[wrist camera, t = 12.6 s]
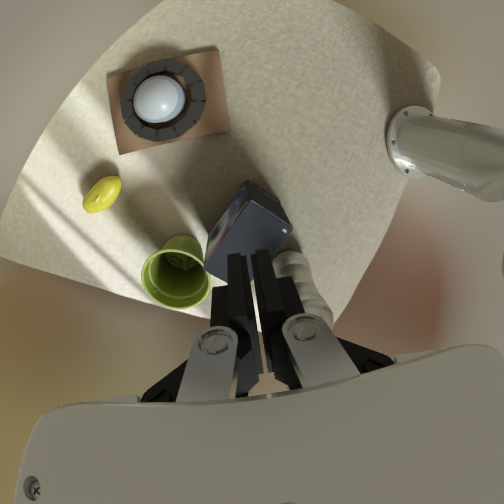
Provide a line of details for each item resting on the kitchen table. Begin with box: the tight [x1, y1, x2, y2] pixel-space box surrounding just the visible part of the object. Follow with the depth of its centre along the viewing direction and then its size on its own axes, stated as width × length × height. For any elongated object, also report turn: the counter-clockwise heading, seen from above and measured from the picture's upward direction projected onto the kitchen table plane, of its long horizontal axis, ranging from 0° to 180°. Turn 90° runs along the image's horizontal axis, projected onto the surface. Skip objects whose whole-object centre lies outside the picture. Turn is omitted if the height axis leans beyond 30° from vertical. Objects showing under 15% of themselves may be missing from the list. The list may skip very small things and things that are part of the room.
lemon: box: [82, 176, 122, 213], centre depth 35 cm, size 4×8×4 cm, turn 116°
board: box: [107, 50, 230, 155], centre depth 32 cm, size 16×12×1 cm
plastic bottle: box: [272, 251, 334, 330], centre depth 36 cm, size 6×7×20 cm
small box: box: [203, 180, 293, 283], centre depth 36 cm, size 11×6×10 cm, turn 145°
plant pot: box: [141, 235, 211, 309], centre depth 39 cm, size 9×9×9 cm
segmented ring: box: [120, 59, 207, 142], centre depth 30 cm, size 11×11×2 cm
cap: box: [134, 76, 187, 123], centre depth 29 cm, size 6×6×5 cm
